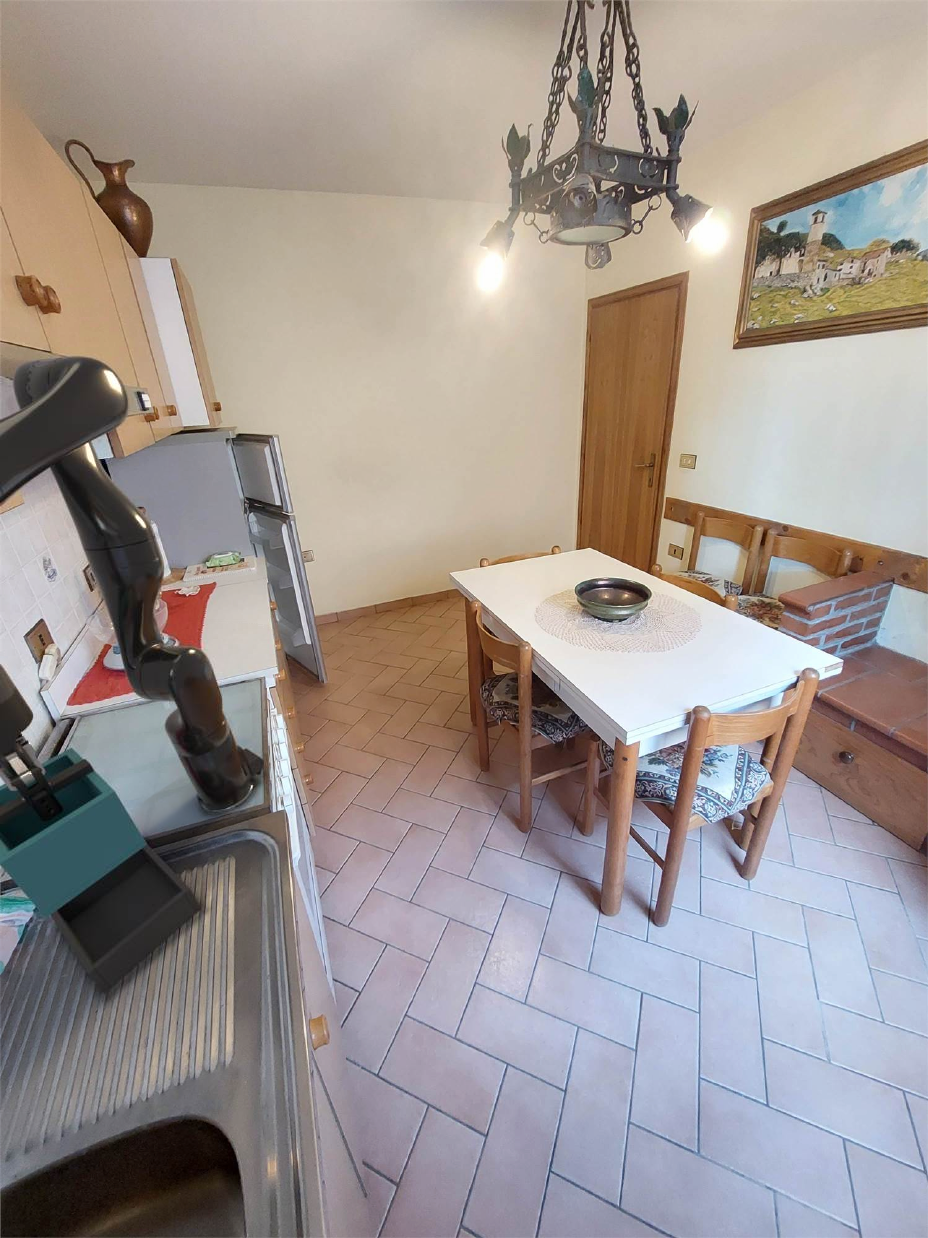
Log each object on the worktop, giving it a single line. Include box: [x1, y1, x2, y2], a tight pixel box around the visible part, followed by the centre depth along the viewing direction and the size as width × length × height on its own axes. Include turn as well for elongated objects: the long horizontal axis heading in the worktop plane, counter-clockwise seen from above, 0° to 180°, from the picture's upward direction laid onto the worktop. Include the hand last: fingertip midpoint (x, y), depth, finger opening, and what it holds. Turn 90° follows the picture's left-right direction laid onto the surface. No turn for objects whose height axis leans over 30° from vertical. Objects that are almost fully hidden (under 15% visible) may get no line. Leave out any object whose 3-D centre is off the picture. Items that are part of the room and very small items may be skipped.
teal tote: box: [0, 747, 148, 919], centre depth 62 cm, size 11×14×11 cm
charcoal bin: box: [50, 844, 202, 994], centre depth 74 cm, size 14×17×6 cm
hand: (49, 810), depth 61 cm, fingers closed on teal tote
